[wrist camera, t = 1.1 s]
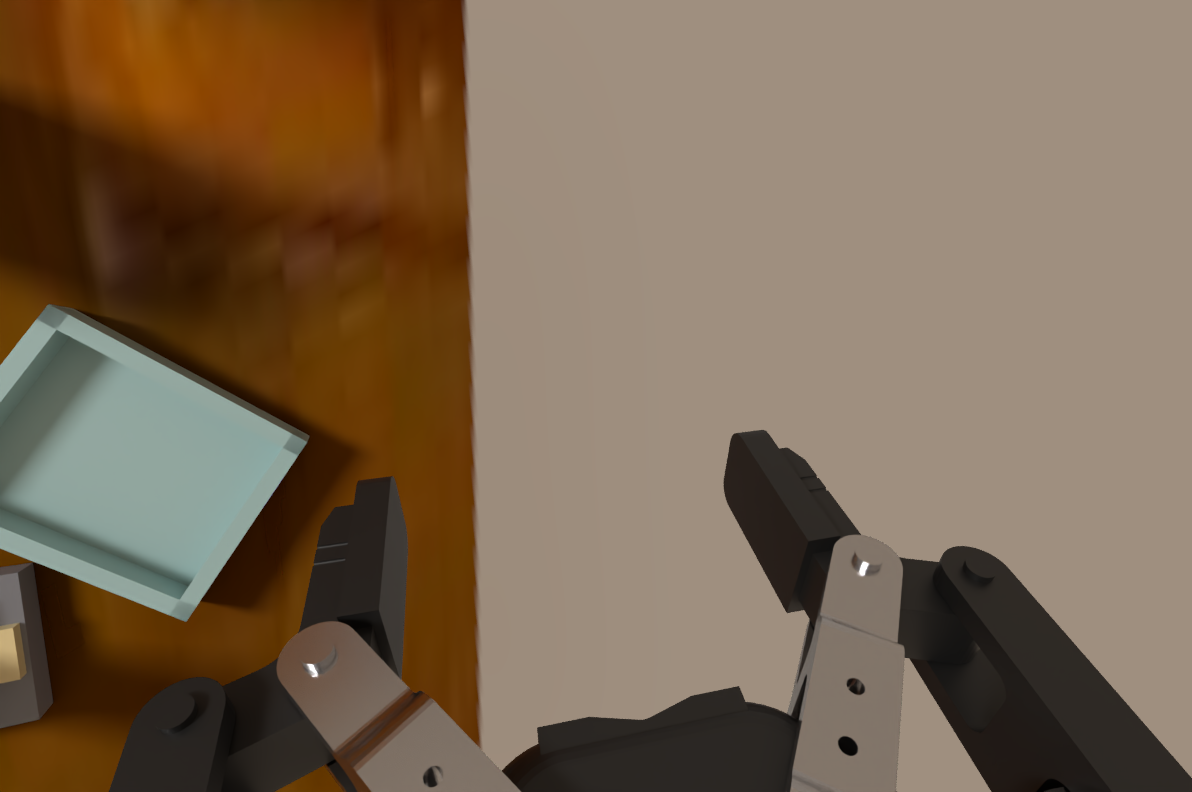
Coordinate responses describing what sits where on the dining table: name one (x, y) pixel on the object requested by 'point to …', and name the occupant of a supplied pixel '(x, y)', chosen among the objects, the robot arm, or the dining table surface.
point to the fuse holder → (22, 649)
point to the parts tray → (128, 463)
